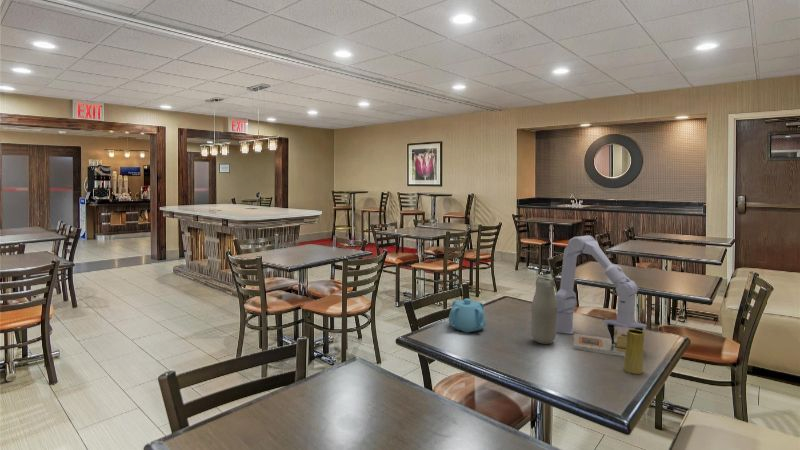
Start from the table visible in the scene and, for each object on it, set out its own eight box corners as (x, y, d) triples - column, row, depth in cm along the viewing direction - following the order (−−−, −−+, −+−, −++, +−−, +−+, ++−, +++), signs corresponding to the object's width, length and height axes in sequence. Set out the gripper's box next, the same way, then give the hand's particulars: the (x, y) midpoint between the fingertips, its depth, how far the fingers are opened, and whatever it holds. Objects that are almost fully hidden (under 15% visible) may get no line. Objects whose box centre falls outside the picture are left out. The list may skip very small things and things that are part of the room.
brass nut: (616, 351, 176) (617, 336, 176) (615, 346, 181) (616, 332, 180) (630, 353, 175) (631, 338, 174) (629, 348, 179) (630, 334, 178)
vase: (620, 367, 161) (622, 328, 160) (636, 366, 162) (638, 328, 160) (630, 374, 155) (632, 334, 154) (646, 374, 156) (649, 334, 154)
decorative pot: (487, 325, 206) (488, 296, 205) (483, 336, 191) (483, 305, 190) (452, 321, 211) (453, 293, 210) (445, 332, 196) (446, 302, 195)
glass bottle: (556, 340, 187) (560, 274, 184) (554, 348, 178) (557, 279, 175) (532, 336, 191) (535, 272, 188) (528, 344, 182) (531, 277, 179)
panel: (573, 349, 178) (573, 345, 178) (574, 337, 191) (574, 333, 191) (642, 359, 169) (643, 355, 169) (639, 345, 182) (639, 342, 182)
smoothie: (627, 331, 199) (629, 301, 197) (633, 337, 192) (635, 305, 191) (612, 331, 199) (614, 300, 198) (617, 336, 193) (619, 304, 191)
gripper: (605, 311, 175) (603, 345, 177) (647, 316, 170) (645, 351, 171) (605, 307, 182) (603, 339, 183) (645, 311, 176) (643, 345, 178)
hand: (623, 344), depth 178 cm, fingers open, 7 cm apart
